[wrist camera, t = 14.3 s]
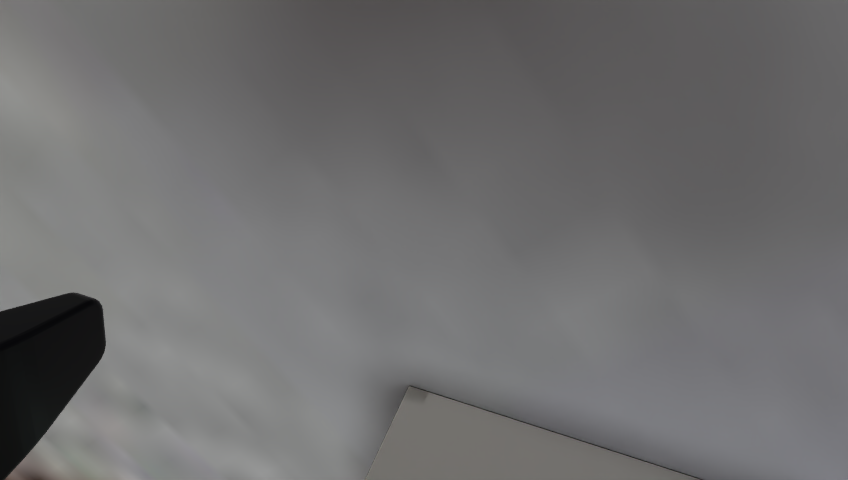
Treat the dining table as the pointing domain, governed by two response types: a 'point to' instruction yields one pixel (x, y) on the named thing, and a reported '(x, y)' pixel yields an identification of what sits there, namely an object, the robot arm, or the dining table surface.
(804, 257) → the dining table surface
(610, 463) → the box
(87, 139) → the dining table surface
